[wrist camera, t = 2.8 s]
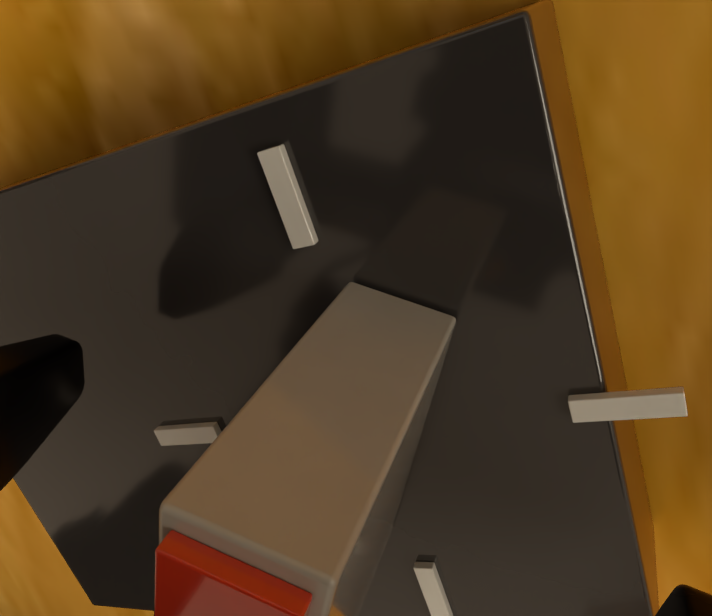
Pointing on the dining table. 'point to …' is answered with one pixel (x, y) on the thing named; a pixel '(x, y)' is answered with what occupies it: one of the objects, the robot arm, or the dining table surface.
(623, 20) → the dining table surface
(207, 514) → the grey box red label
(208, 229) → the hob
